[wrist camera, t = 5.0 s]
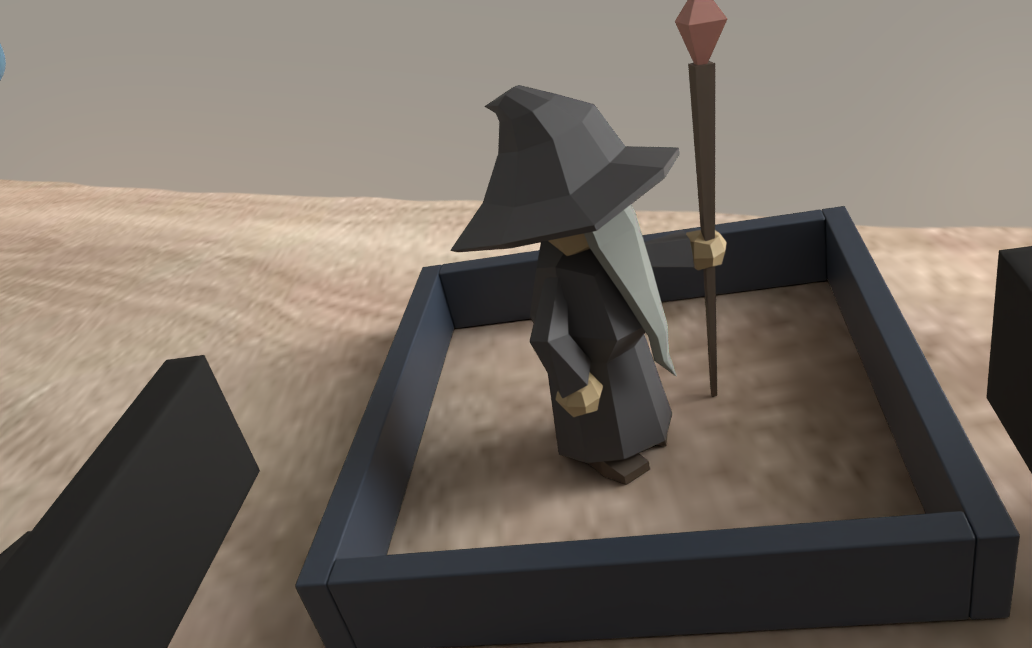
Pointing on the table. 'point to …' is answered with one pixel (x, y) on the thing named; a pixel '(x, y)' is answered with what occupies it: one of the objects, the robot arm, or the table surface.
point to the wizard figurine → (602, 255)
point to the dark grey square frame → (675, 556)
